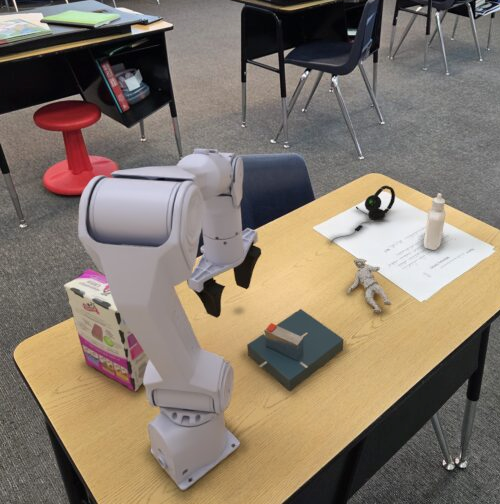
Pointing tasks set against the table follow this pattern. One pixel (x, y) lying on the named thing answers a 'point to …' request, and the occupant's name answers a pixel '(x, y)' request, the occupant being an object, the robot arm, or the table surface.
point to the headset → (376, 206)
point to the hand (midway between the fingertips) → (228, 299)
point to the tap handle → (284, 341)
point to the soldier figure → (368, 283)
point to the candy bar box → (105, 331)
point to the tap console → (314, 350)
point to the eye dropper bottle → (435, 223)
